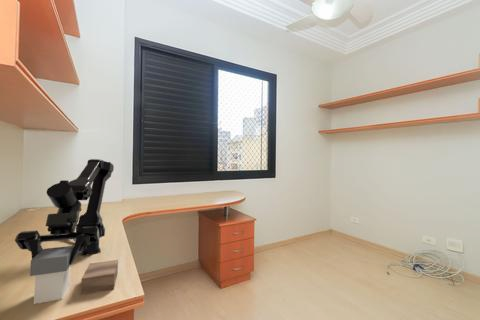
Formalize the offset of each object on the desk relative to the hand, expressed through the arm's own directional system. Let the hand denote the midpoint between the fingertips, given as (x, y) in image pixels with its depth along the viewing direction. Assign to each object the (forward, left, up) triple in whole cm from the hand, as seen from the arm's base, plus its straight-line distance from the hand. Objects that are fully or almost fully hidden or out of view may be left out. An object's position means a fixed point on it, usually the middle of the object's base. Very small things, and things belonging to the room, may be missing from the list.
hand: (52, 266), depth 58 cm
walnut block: (0, +12, -8) cm, 14 cm away
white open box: (-1, 0, -8) cm, 8 cm away
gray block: (-1, 0, -1) cm, 2 cm away
